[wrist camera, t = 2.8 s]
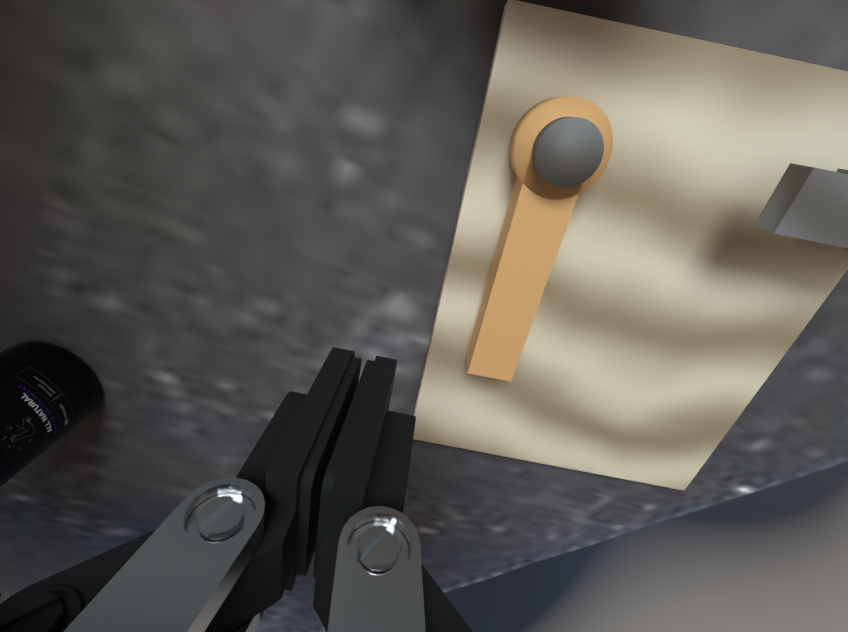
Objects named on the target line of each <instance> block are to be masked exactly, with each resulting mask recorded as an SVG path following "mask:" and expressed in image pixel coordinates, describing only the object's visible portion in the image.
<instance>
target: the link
mask: <svg viewBox="0 0 848 632" xmlns="http://www.w3.org/2000/svg"><path fill="white" fill-rule="evenodd" d="M568 116H571V117H579V118H584V119H587V120H589V121H591V122H592V123H594V124H595V125H596V126H597V128H598V129H599V130H600V132H601V134H602V137H603V141H604V153H603V157H602V160H601V163H600V165H599V167H598V168H597V170H596V171H595V173H594V174H593V175H592V176H591V177H590V178H589V179H588V180H586V181H585V182H583V183H581V184H579V185H577V186H574V187H569V188H560V187H556V186H553V185H551V184H549V183H548V182H546V181H545V180H544V179H543V178H542V177H541V176H540V175H539V174H538V173H537V172H536V170H535V168H534V166H533V162H532V148H533V144H534V141H535V139H536V137H537V135H538V134H539V132H540V131H541V130H542V129H543V128H544V127H545V126H546V125H547V124H548V123H550V122H551V121H553V120H555V119H557V118H561V117H568ZM612 148H613V133H612V128H611V125H610V122H609V120H608V118H607V116H606V114H605V113H604V112H603V110H602V109H601V108H600V107H598V106H597V105H596V104H594V103H593V102H591V101H589V100H587V99H584V98H580V97H556V98H550V99H547V100H543V101H541V102H539V103H537V104H536V105H534V106H532V107H531V108H530V109H529V110H527V111H526V112H525V113H524V114H523V116H522V117H521V118H520V119H519V121H518V122H517V124H516V126H515V128H514V130H513V132H512V135H511V139H510V144H509V157H510V162H511V165H512V168H513V170H514V172H515V174H516V175H517V177H516V180H515V184H514V188H513V191H512V195H511V198H510V202H509V205H508V209H507V212H506V216H505V220H504V223H503V227H502V230H501V234H500V237H499V241H498V244H497V248H496V252H495V255H494V259H493V262H492V266H491V269H490V273H489V276H488V280H487V284H486V287H485V291H484V294H483V298H482V301H481V305H480V308H479V312H478V316H477V319H476V323H475V326H474V330H473V333H472V337H471V340H470V344H469V348H468V351H467V371H468V373H469V374H474V375H479V376H485V377H490V378H495V379H500V380H505V381H510V382H511V381H512V378H513V375H514V372H515V370H516V367H517V364H518V361H519V359H520V356H521V353H522V350H523V347H524V345H525V342H526V339H527V336H528V334H529V331H530V328H531V325H532V322H533V320H534V317H535V314H536V311H537V309H538V306H539V303H540V300H541V297H542V295H543V292H544V289H545V286H546V284H547V281H548V278H549V275H550V272H551V270H552V267H553V264H554V261H555V258H556V256H557V253H558V250H559V247H560V245H561V242H562V239H563V236H564V233H565V231H566V228H567V225H568V222H569V220H570V217H571V214H572V211H573V208H574V206H575V203H576V200H577V197H578V195H579V194H580V193H582V192H584V191H585V190H587V189H588V188H590V187H591V186H592V185H593V184H594V183H595V182H596V181H597V180H598V179H599V178H600V176H601V175H602V174H603V172H604V170H605V169H606V167H607V165H608V162H609V160H610V157H611V154H612Z"/></svg>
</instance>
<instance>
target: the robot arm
mask: <svg viewBox="0 0 848 632" xmlns="http://www.w3.org/2000/svg"><path fill="white" fill-rule="evenodd" d="M396 365H397V360H395V359H390V358H385V357H380V356H376V359H375V361H371V360H367V362H366V365H365V367H364V370H363V373H362V375H361V378H360V381H359V375H360V368H361V358H356V357H355V352H354V351H350V350H345V349H340V348H335V347H333V348H332V350H331V351H330V353H329V355H328V357H327V359H326V361H325V363H324V364H323V366H322V368H321V370H320V372H319V374H318V376H317V377H316V379H315V381H314V383H313V385H312V387H311V389H310V391H309V392H308V394H307V395H306V394H301V393H296V392H289V393H288V394H287V395H286V397H285V398H284V400H283V401H282V403H281V405H280V406H279V408H278V410H277V411H276V413H275V414H274V416H273V418H272V419H271V421H270V423H269V424H268V426H267V428H266V429H265V431H264V433H263V434H262V436H261V437H260V439H259V441H258V442H257V444H256V446H255V447H254V449H253V451H252V452H251V454H250V456H249V457H248V459H247V460H246V462H245V464H244V465H243V467H242V469H241V470H240V472H239V474H238V475H237V477H236V478H235V477H234V478H221V479H218V480H214V481H211V482H208V483H206V484H204V485H202V486H200V487H199V488H197V489H195V490H194V491H193V492H192V493H191V494H189V495H188V496H187V497H186V498H185V499H184V500H183V501H182V502H181V503H180V504H179V505H178V506H177V507H176V509H175V510H174V511H173V512H172V513H171V514H170V515H169V516H168V517H167V518H166V520H165V521H164V522H163V523H162V524H161V525H160V526H159V527H158V528H157V529H156V530H154V531H152V532H149V533H147V534H145V535H143V536H140V537H138V538H136V539H134V540H131V541H129V542H127V543H125V544H122V545H120V546H118V547H116V548H113V549H111V550H109V551H107V552H104V553H102V554H100V555H98V556H95V557H93V558H91V559H89V560H86V561H84V562H82V563H80V564H77V565H75V566H73V567H71V568H68V569H66V570H64V571H62V572H59V573H57V574H55V575H53V576H50V577H48V578H46V579H44V580H41V581H39V582H37V583H35V584H32V585H30V586H28V587H27V588H25V589H23V590H21V591H19V592H17V593H16V594H14V595H6V596H2V595H1V593H0V632H255V630H256V628H257V626H258V624H259V622H260V620H261V618H262V615H263V612H264V610H265V609H267V608H268V607H270V606H271V605H273V604H274V603H276V602H277V601H279V600H280V599H281V598H282V595H283V592H284V590H290V591H292V588H293V585H294V582H295V579H296V577H297V574H299V575H304V576H306V574H307V572H308V569H309V566H310V563H311V560H312V557H313V554H314V551H315V548H316V552H315V562H314V573H313V577H314V578H316V582H315V592H314V602H313V606H314V608H315V610H316V612H317V614H318V616H319V618H320V620H321V622H322V624H323V626H324V627H325V629H326V632H472V630H471V629H470V628H469V626H468V625H467V624H466V622H465V621H464V620H463V618H462V617H461V616H460V614H459V613H458V612H457V610H456V609H455V608H454V606H453V605H452V604H451V602H450V601H449V600H448V598H447V597H446V596H445V594H444V593H443V592H442V590H441V589H440V588H439V586H438V585H437V584H436V582H435V581H434V580H433V578H432V577H431V576H430V574H429V573H428V572H427V570H426V569H425V568H424V566H423V565H422V563H421V546H420V540H419V536H418V532H417V530H416V528H415V527H414V525H413V523H412V522H411V521H410V520H409V519H408V518H407V517H406V516H405V515H404V514H403V507H404V500H405V493H406V486H407V479H408V472H409V465H410V458H411V451H412V444H413V437H414V430H415V422H416V416H412V415H407V414H402V413H397V412H392V411H388V409H389V404H390V398H391V393H392V387H393V382H394V376H395V371H396Z"/></svg>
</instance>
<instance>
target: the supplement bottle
mask: <svg viewBox="0 0 848 632" xmlns="http://www.w3.org/2000/svg"><path fill="white" fill-rule="evenodd" d="M99 398H100V388H99V384H98V381H97V379H96V377H95V375H94V374H93V372H92V371H91V370H90V368H89V367H88V366H87V365H86V364H85V363H84V362H83V361H82V360H81V359H79V358H78V357H77V356H76V355H74V354H73V353H71V352H69V351H67V350H66V349H64V348H61V347H59V346H56V345H53V344H50V343H45V342H24V343H20V344H17V345H15V346H13V347H10V348H8V349H6V350H4V351H3V352H0V487H1V486H2V485H3V484H5V483H6V482H7V481H8V480H10V479H11V478H12V477H13V476H14V475H16V474H17V473H18V472H19V471H21V470H22V469H23V468H24V467H25V466H27V465H28V464H29V463H30V462H32V461H33V460H34V459H35V458H36V457H38V456H39V455H40V454H41V453H43V452H44V451H45V450H46V449H47V448H49V447H50V446H51V445H52V444H54V443H55V442H56V441H57V440H59V439H60V438H61V437H62V436H63V435H65V434H66V433H67V432H68V431H70V430H71V429H72V428H73V427H74V426H76V425H77V424H78V423H79V422H81V421H82V420H83V419H84V418H85V417H86V416H88V415H89V414H90V413H91V412H92V411H93V410H94V409H95V408H96V406H97V404H98V402H99Z"/></svg>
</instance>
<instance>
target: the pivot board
mask: <svg viewBox="0 0 848 632" xmlns="http://www.w3.org/2000/svg"><path fill="white" fill-rule="evenodd" d="M556 97H580V98H584V99H587V100H589V101H591V102H593V103H594V104H596V105H597V106H598V107H600V108H601V109H602V110H603V112H604V113H605V114H606V116H607V118H608V120H609V122H610V125H611V128H612V133H613V148H612V154H611V157H610V160H609V162H608V165H607V167H606V169H605V170H604V172H603V174H602V175H601V176H600V178H599V179H598V180H597V181H596V182H595V183H594V184H593V185H592V186H591V187H590V188H588V189H587V190H585V191H584V192H582V193H580V194H579V195H578V197H577V200H576V203H575V206H574V208H573V211H572V214H571V217H570V220H569V222H568V225H567V228H566V231H565V233H564V236H563V239H562V242H561V245H560V247H559V250H558V253H557V256H556V258H555V261H554V264H553V267H552V270H551V272H550V275H549V278H548V281H547V284H546V286H545V289H544V292H543V295H542V297H541V300H540V303H539V306H538V309H537V311H536V314H535V317H534V320H533V322H532V325H531V328H530V331H529V334H528V336H527V339H526V342H525V345H524V347H523V350H522V353H521V356H520V359H519V361H518V364H517V367H516V370H515V372H514V375H513V378H512V381H511V382H510V381H505V380H500V379H495V378H490V377H485V376H479V375H474V374H469V373H468V371H467V351H468V348H469V344H470V340H471V337H472V333H473V330H474V326H475V323H476V319H477V316H478V312H479V308H480V305H481V301H482V298H483V294H484V291H485V287H486V284H487V280H488V276H489V273H490V269H491V266H492V262H493V259H494V255H495V252H496V248H497V244H498V241H499V237H500V234H501V230H502V227H503V223H504V220H505V216H506V212H507V209H508V205H509V202H510V198H511V195H512V191H513V188H514V184H515V180H516V177H517V175H516V174H515V172H514V170H513V168H512V165H511V162H510V157H509V144H510V139H511V135H512V132H513V130H514V128H515V126H516V124H517V122H518V121H519V119H520V118H521V117H522V116H523V114H524V113H525V112H526V111H527V110H529V109H530V108H531V107H532V106H534V105H536V104H537V103H539V102H541V101H543V100H547V99H550V98H556ZM603 153H604V141H603V137H602V134H601V132H600V130H599V129H598V128H597V126H596V125H595V124H594V123H592V122H591V121H589V120H587V119H584V118H579V117H571V116H568V117H561V118H557V119H555V120H553V121H551V122H550V123H548V124H547V125H546V126H545V127H544V128H543V129H542V130H541V131H540V132H539V134H538V135H537V137H536V139H535V141H534V144H533V148H532V162H533V166H534V168H535V170H536V172H537V173H538V174H539V175H540V176H541V177H542V178H543V179H544V180H545V181H546V182H548V183H549V184H551V185H553V186H556V187H560V188H569V187H574V186H577V185H579V184H581V183H583V182H585V181H586V180H588V179H589V178H590V177H591V176H592V175H593V174H594V173H595V171H596V170H597V168H598V167H599V165H600V163H601V160H602V157H603ZM847 269H848V71H843V70H838V69H834V68H829V67H824V66H820V65H815V64H810V63H806V62H801V61H796V60H792V59H787V58H782V57H778V56H773V55H769V54H764V53H759V52H755V51H750V50H745V49H741V48H736V47H731V46H727V45H722V44H717V43H713V42H708V41H703V40H699V39H694V38H689V37H685V36H680V35H676V34H671V33H666V32H662V31H657V30H652V29H648V28H643V27H638V26H634V25H629V24H624V23H620V22H615V21H610V20H606V19H601V18H596V17H592V16H587V15H583V14H578V13H573V12H569V11H564V10H559V9H555V8H550V7H545V6H541V5H536V4H531V3H527V2H522V1H517V0H508V1H507V3H506V5H505V7H504V12H503V16H502V21H501V25H500V30H499V34H498V39H497V43H496V48H495V52H494V56H493V61H492V65H491V70H490V74H489V79H488V83H487V88H486V92H485V97H484V101H483V106H482V110H481V114H480V119H479V123H478V128H477V132H476V137H475V141H474V146H473V150H472V155H471V159H470V164H469V168H468V172H467V177H466V181H465V186H464V190H463V195H462V199H461V204H460V208H459V213H458V217H457V222H456V226H455V231H454V235H453V239H452V244H451V248H450V253H449V257H448V262H447V266H446V271H445V275H444V280H443V284H442V289H441V293H440V297H439V302H438V306H437V311H436V315H435V320H434V324H433V329H432V333H431V338H430V342H429V347H428V351H427V355H426V360H425V364H424V369H423V373H422V378H421V382H420V387H419V391H418V396H417V400H416V405H415V409H414V413H413V416H416V422H415V430H414V437H413V439H415V440H421V441H426V442H431V443H437V444H442V445H447V446H452V447H458V448H463V449H468V450H473V451H479V452H484V453H489V454H495V455H500V456H505V457H510V458H516V459H521V460H526V461H532V462H537V463H542V464H547V465H553V466H558V467H563V468H568V469H574V470H579V471H584V472H590V473H595V474H600V475H605V476H611V477H616V478H621V479H627V480H632V481H637V482H642V483H648V484H653V485H658V486H663V487H669V488H674V489H679V490H685V489H686V487H687V486H688V485H689V483H690V482H691V481H692V479H693V478H694V476H695V475H696V474H697V472H698V471H699V470H700V468H701V467H702V466H703V464H704V463H705V462H706V460H707V459H708V458H709V456H710V455H711V453H712V452H713V451H714V449H715V448H716V447H717V445H718V444H719V443H720V441H721V440H722V439H723V437H724V436H725V435H726V433H727V432H728V430H729V429H730V428H731V426H732V425H733V424H734V422H735V421H736V420H737V418H738V417H739V416H740V414H741V413H742V412H743V410H744V409H745V407H746V406H747V405H748V403H749V402H750V401H751V399H752V398H753V397H754V395H755V394H756V393H757V391H758V390H759V389H760V387H761V386H762V384H763V383H764V382H765V380H766V379H767V378H768V376H769V375H770V374H771V372H772V371H773V370H774V368H775V367H776V366H777V364H778V363H779V361H780V360H781V359H782V357H783V356H784V355H785V353H786V352H787V351H788V349H789V348H790V347H791V345H792V344H793V343H794V341H795V340H796V338H797V337H798V336H799V334H800V333H801V332H802V330H803V329H804V328H805V326H806V325H807V324H808V322H809V321H810V320H811V318H812V317H813V315H814V314H815V313H816V311H817V310H818V309H819V307H820V306H821V305H822V303H823V302H824V301H825V299H826V298H827V297H828V295H829V294H830V292H831V291H832V290H833V288H834V287H835V286H836V284H837V283H838V282H839V280H840V279H841V278H842V276H843V275H844V274H845V272H846V271H847Z"/></svg>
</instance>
